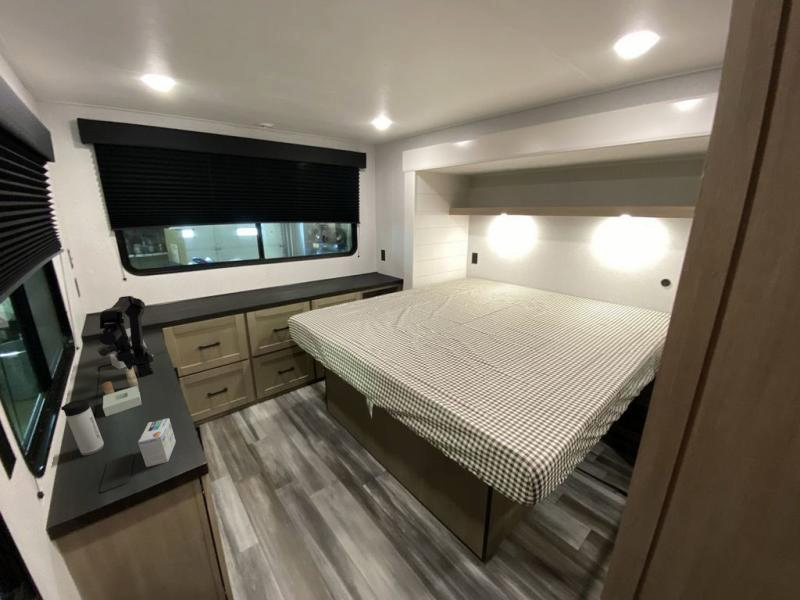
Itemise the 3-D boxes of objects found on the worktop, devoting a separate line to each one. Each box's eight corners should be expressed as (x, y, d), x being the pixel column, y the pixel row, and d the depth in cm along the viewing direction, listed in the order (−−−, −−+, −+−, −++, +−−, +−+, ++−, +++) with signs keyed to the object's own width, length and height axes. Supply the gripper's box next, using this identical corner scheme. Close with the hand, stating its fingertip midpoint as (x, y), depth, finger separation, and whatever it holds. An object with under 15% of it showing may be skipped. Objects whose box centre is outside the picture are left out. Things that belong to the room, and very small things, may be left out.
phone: (98, 493, 100) (107, 461, 112) (99, 495, 100) (108, 463, 112) (128, 482, 103) (134, 452, 115) (129, 484, 104) (135, 454, 116)
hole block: (106, 403, 145) (103, 395, 143) (139, 393, 152) (137, 385, 151) (105, 416, 136) (102, 408, 135) (141, 404, 143) (139, 396, 142)
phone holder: (118, 370, 174) (108, 339, 168) (110, 365, 179) (100, 335, 173) (154, 356, 188) (146, 327, 182) (146, 352, 193) (138, 324, 187)
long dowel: (130, 387, 157) (124, 368, 154) (138, 384, 159) (133, 366, 156) (130, 389, 155) (124, 371, 152) (139, 387, 157) (133, 369, 154)
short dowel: (106, 394, 152) (102, 383, 150) (114, 391, 154) (111, 380, 152) (106, 397, 149) (102, 386, 147) (115, 394, 151) (111, 383, 149)
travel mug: (77, 452, 116) (57, 405, 110) (99, 441, 122) (82, 395, 116) (84, 458, 114) (65, 410, 107) (107, 446, 119) (90, 400, 113)
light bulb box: (155, 446, 119) (147, 422, 115) (176, 441, 121) (169, 417, 118) (145, 468, 109) (136, 442, 106) (168, 462, 111) (160, 436, 108)
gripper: (94, 335, 149) (105, 364, 154) (96, 348, 136) (108, 380, 141) (125, 328, 156) (134, 356, 161) (130, 339, 144) (139, 370, 149)
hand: (129, 365), depth 153 cm, fingers open, 9 cm apart
